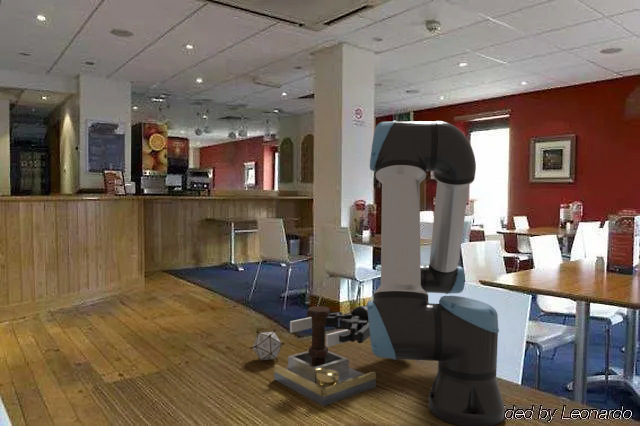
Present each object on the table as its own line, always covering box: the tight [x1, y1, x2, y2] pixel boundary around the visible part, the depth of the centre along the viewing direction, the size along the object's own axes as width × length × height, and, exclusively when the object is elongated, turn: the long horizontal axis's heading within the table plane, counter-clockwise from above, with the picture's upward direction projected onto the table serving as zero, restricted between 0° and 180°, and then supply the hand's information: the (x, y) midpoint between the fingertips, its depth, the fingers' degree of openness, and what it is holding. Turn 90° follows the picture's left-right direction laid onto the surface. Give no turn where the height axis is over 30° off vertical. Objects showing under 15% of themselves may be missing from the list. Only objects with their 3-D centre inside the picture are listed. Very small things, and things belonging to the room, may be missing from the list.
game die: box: [249, 328, 286, 364], centre depth 129 cm, size 9×8×10 cm
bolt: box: [306, 305, 331, 366], centre depth 117 cm, size 6×5×15 cm
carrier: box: [273, 350, 377, 407], centre depth 114 cm, size 18×16×5 cm
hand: (307, 333), depth 115 cm, fingers open, 13 cm apart
